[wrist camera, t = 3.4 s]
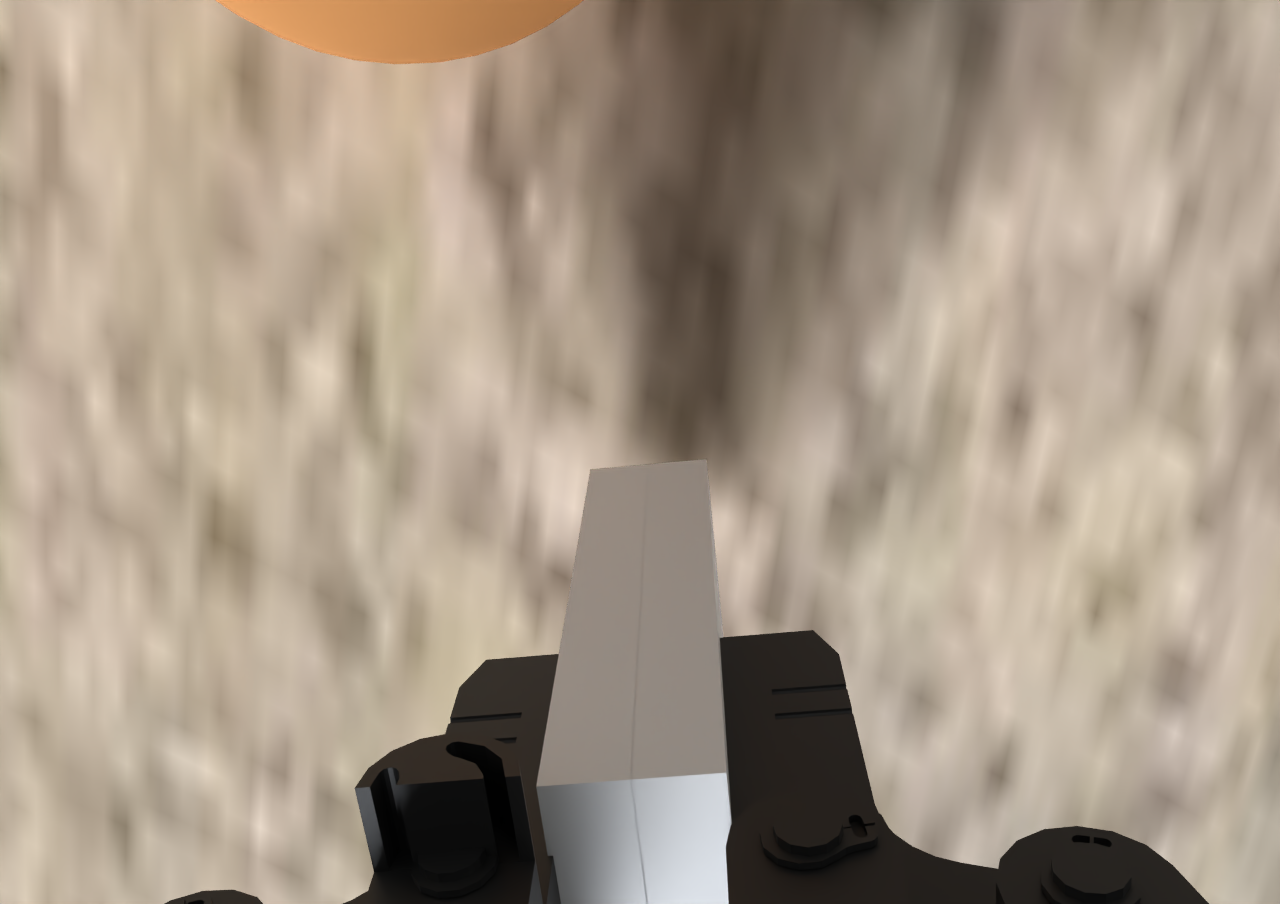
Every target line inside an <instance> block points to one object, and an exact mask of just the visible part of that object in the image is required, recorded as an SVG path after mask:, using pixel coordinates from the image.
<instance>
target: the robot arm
mask: <svg viewBox="0 0 1280 904" xmlns="http://www.w3.org/2000/svg"><path fill="white" fill-rule="evenodd" d="M450 720H451V723H450V724H448V727H447V730H446V734H444V735H439V736H434V737H428V738H423V739H419V740H417V741H414V742H412V743H410V744H407V745H405V746H403V747H400V748H398V749H395V750H393V751H391V752H390V753H388V754H387V755H386V756H384V757H383V758H382V759H380V760H379V761H378V762H376V763H375V764H374V765H372V766H371V767H369V768H368V770H367V771H366V773H365V774H364V775H363V777H362V778H361V780H360V781H359V783H358V784H357V786H356V787H355V791H356V796H357V800H358V804H359V809H360V813H361V817H362V822H363V826H364V830H365V834H366V839H367V843H368V847H369V852H370V856H371V860H372V865H373V869H374V875H373V878H372V881H371V884H370V887H369V890H368V891H367V892H365V893H363V894H362V895H360V896H358V897H356V898H355V899H353V900H351V901H348V902H346V903H343V904H1209V903H1208V902H1207V901H1206V900H1205V899H1204V898H1203V897H1202V896H1201V895H1200V894H1199V893H1198V892H1197V891H1196V890H1195V888H1194V887H1193V886H1192V885H1191V884H1190V883H1189V882H1188V881H1187V880H1186V879H1185V878H1184V877H1183V876H1182V875H1181V874H1180V873H1179V871H1178V870H1177V869H1176V868H1175V867H1174V866H1173V865H1172V864H1170V863H1169V862H1168V861H1167V860H1165V859H1164V858H1163V857H1161V856H1160V855H1159V854H1157V853H1156V852H1155V851H1153V850H1152V849H1151V848H1149V847H1148V846H1147V845H1145V844H1143V843H1140V842H1138V841H1135V840H1133V839H1130V838H1128V837H1125V836H1123V835H1120V834H1118V833H1115V832H1113V831H1106V830H1099V829H1093V828H1086V827H1079V826H1074V827H1063V828H1053V829H1044V830H1041V831H1039V832H1037V833H1034V834H1032V835H1029V836H1027V837H1025V838H1022V839H1020V840H1018V841H1016V842H1015V843H1014V845H1013V846H1012V847H1011V848H1010V849H1009V850H1008V851H1007V852H1006V853H1005V854H1004V855H1003V856H1002V857H1001V859H1000V863H999V868H998V869H995V868H989V867H983V866H977V865H971V864H965V863H960V862H955V861H951V860H947V859H943V858H939V857H935V856H933V855H931V854H928V853H926V852H924V851H921V850H919V849H917V848H915V847H912V846H911V845H909V844H908V843H907V842H905V841H904V840H902V839H901V838H899V837H898V836H897V835H895V834H894V833H893V832H892V831H891V830H890V829H889V827H888V826H887V824H886V822H885V821H884V819H883V817H882V815H881V814H879V813H878V811H877V808H876V806H875V804H874V799H873V795H872V791H871V787H870V783H869V779H868V774H867V770H866V766H865V762H864V758H863V753H862V749H861V745H860V741H859V737H858V732H857V728H856V724H855V720H854V716H853V714H852V707H851V703H850V699H849V695H848V691H847V689H846V682H845V678H844V674H843V670H842V665H841V661H840V657H839V654H838V653H837V652H836V651H835V650H834V649H833V648H832V647H831V646H829V645H828V644H827V643H826V642H825V641H824V640H823V639H822V638H821V637H820V636H819V635H818V634H817V633H815V632H814V631H813V630H810V631H798V632H785V633H773V634H760V635H748V636H735V637H723V627H722V616H721V606H720V595H719V585H718V574H717V564H716V553H715V543H714V532H713V522H712V511H711V501H710V490H709V479H708V469H707V459H701V460H690V461H679V462H668V463H656V464H645V465H634V466H623V467H612V468H601V469H590V475H589V481H588V487H587V493H586V498H585V504H584V510H583V516H582V522H581V528H580V534H579V539H578V545H577V551H576V557H575V563H574V569H573V574H572V580H571V586H570V592H569V598H568V604H567V609H566V615H565V621H564V627H563V633H562V639H561V645H560V650H559V654H554V655H541V656H529V657H516V658H504V659H491V660H486V661H485V662H484V663H483V664H482V665H481V666H480V667H479V668H478V669H477V670H476V671H475V672H474V673H473V674H472V675H471V676H470V677H469V678H468V679H467V680H466V681H465V682H464V683H463V684H462V685H461V686H460V687H459V690H458V694H457V697H456V700H455V704H454V707H453V710H452V714H451V717H450ZM165 904H263V903H262V902H261V901H260V900H259V899H258V898H257V897H255V896H252V895H248V894H245V893H242V892H239V891H236V890H215V891H201V892H198V893H195V894H191V895H188V896H184V897H181V898H178V899H174V900H171V901H169V902H167V903H165Z"/></svg>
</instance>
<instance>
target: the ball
mask: <svg viewBox="0 0 1280 904" xmlns="http://www.w3.org/2000/svg"><path fill="white" fill-rule="evenodd" d="M216 1H218V2H219V3H220V4H222V5H223V6H225V7H226V8H228V9H229V10H231V11H232V12H233V13H235V14H237V15H239V16H240V17H242V18H244V19H246V20H248V21H250V22H251V23H253V24H255V25H257V26H259V27H261V28H263V29H265V30H267V31H269V32H270V33H272V34H274V35H276V36H278V37H280V38H283V39H285V40H288V41H291V42H293V43H296V44H299V45H301V46H304V47H307V48H309V49H312V50H315V51H318V52H322V53H326V54H331V55H335V56H339V57H344V58H348V59H352V60H358V61H369V62H379V63H390V64H410V63H433V62H444V61H449V60H455V59H460V58H465V57H471V56H476V55H479V54H482V53H485V52H488V51H491V50H494V49H497V48H500V47H503V46H506V45H509V44H512V43H514V42H516V41H518V40H520V39H522V38H524V37H526V36H528V35H530V34H532V33H534V32H536V31H538V30H541V29H543V28H545V27H547V26H548V25H549V24H551V23H552V22H554V21H555V20H557V19H558V18H560V17H561V16H563V15H564V14H566V13H567V12H568V11H570V10H571V9H573V8H574V7H576V6H577V5H579V4H580V3H581V2H582V1H583V0H216Z"/></svg>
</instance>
